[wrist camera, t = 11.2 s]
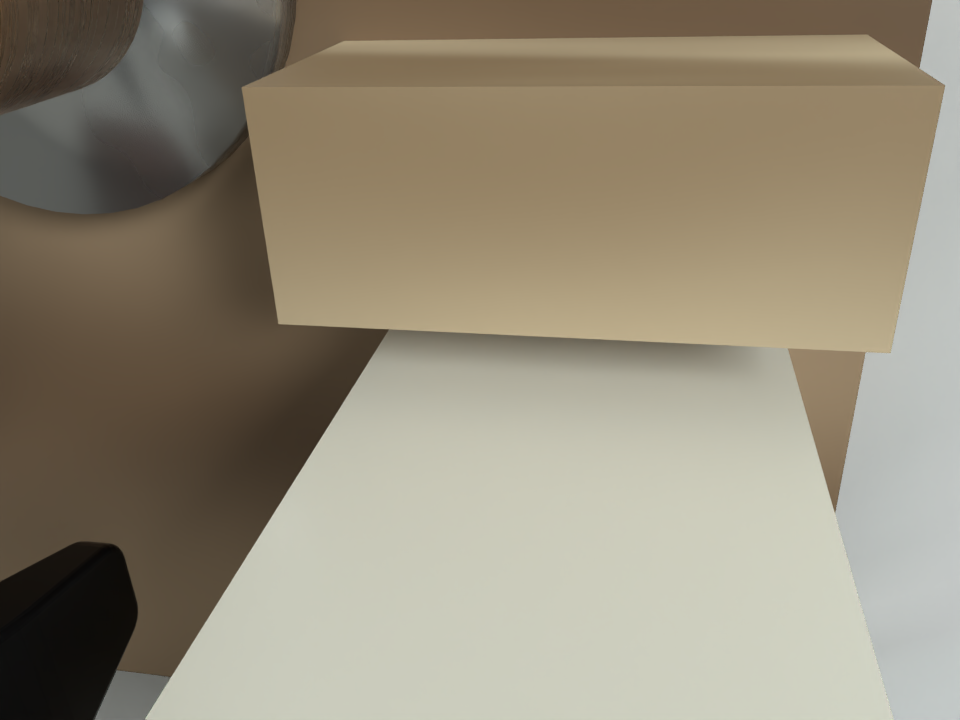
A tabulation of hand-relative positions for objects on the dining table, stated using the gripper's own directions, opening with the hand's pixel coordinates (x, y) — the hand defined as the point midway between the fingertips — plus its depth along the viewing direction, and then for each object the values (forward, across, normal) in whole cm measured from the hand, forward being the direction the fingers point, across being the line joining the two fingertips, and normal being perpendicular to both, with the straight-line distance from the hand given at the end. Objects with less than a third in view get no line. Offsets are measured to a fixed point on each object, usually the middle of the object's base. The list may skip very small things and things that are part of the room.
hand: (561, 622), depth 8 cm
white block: (+3, 0, 0) cm, 3 cm away
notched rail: (+3, 0, 0) cm, 3 cm away
